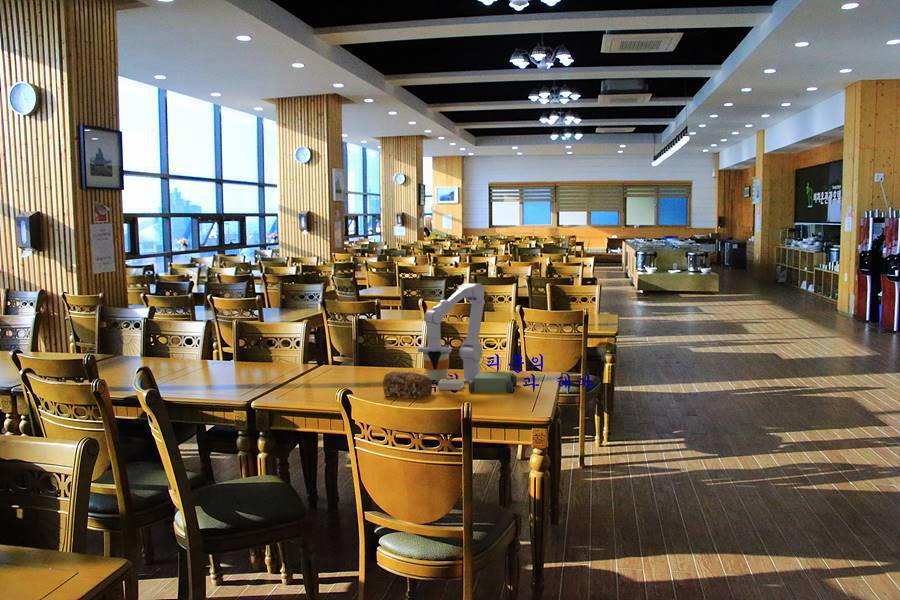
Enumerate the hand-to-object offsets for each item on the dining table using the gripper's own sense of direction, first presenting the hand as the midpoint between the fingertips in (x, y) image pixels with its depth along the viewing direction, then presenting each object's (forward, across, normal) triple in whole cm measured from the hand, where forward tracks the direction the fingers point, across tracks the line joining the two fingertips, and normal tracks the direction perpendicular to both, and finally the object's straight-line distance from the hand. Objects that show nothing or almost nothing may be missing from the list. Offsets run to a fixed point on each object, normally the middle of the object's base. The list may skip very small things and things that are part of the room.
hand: (435, 368), depth 333 cm
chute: (+8, +7, 0) cm, 11 cm away
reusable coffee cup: (+9, -4, +21) cm, 23 cm away
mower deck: (+8, +26, -1) cm, 27 cm away
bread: (+9, -8, -15) cm, 19 cm away
